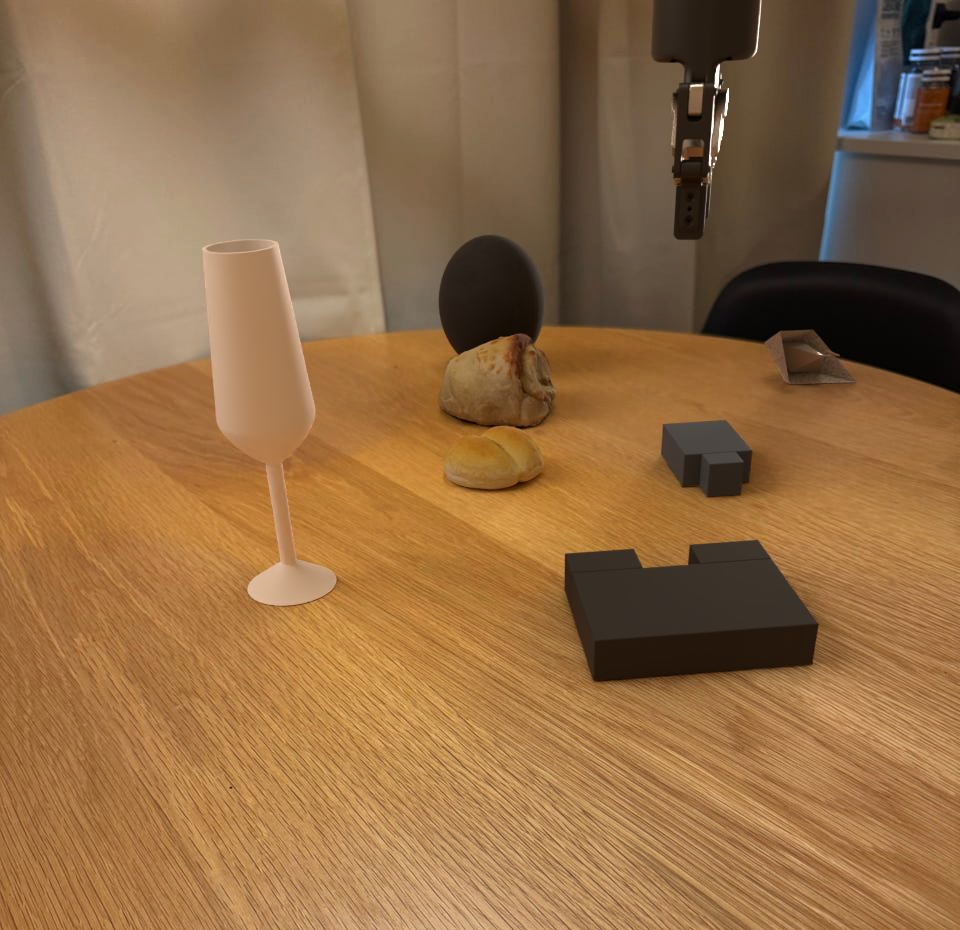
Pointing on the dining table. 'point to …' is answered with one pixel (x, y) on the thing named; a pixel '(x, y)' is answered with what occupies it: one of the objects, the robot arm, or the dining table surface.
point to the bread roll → (493, 459)
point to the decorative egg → (490, 293)
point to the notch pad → (687, 612)
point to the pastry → (499, 383)
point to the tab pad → (707, 456)
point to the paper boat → (805, 358)
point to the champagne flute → (262, 391)
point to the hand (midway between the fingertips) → (691, 229)
